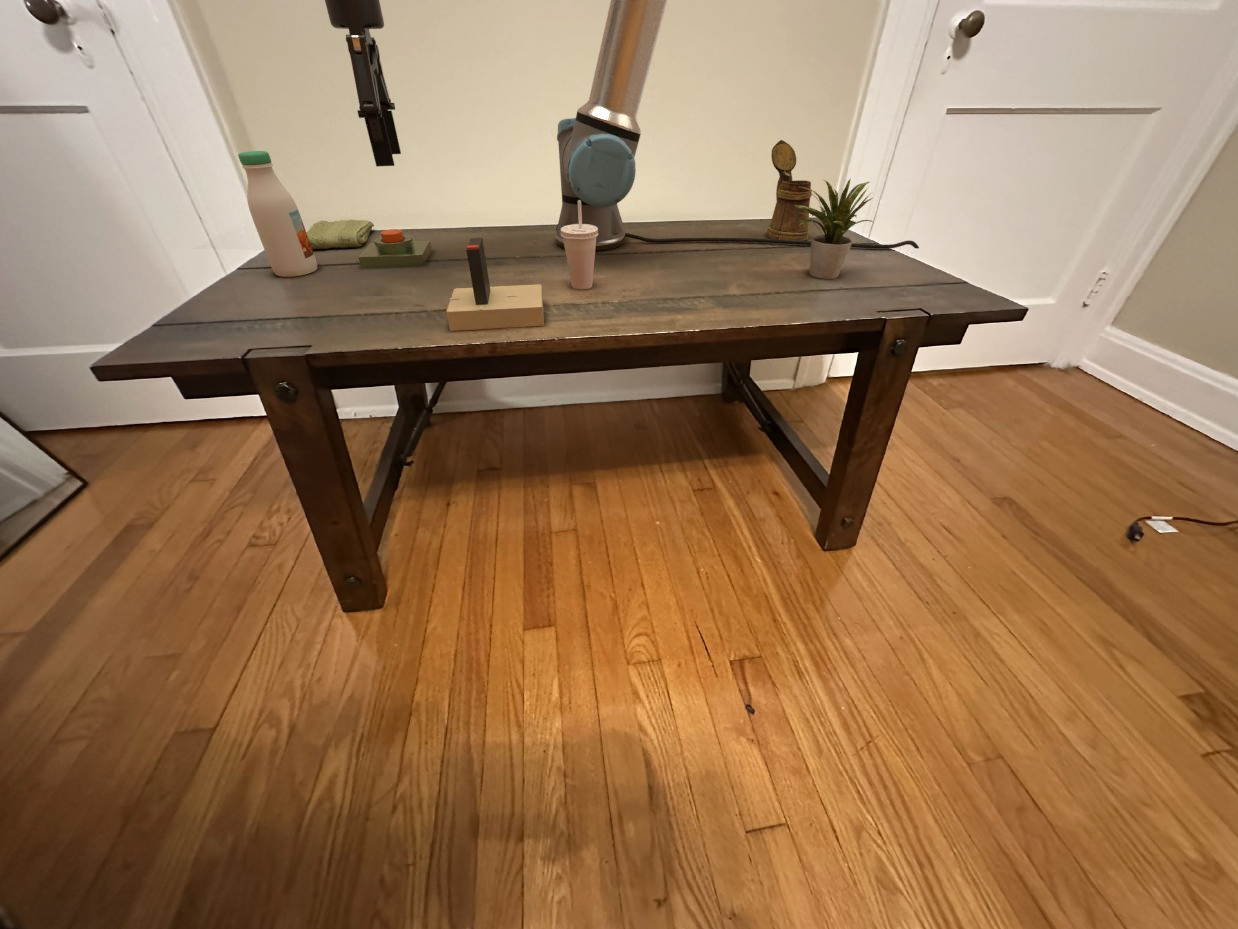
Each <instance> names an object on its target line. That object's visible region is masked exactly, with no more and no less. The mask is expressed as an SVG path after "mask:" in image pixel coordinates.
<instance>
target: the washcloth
mask: <svg viewBox="0 0 1238 929" xmlns="http://www.w3.org/2000/svg"><path fill="white" fill-rule="evenodd" d="M373 227H375V224H374V223H373V222H372V221H370V220H367V219H366V220H365V219H341V220H335V221H328V220H319V221H317V222H314V223H313V224H312V226H310V227H309V229H308V230H306V233H307V236H308V239H309V242H310V244H311V247H312V250H313V251H314V250H320V249H321V250H329V249H331V248H334V249H339V248H340V249H349V248H351V249H352V248H360V247H362V246H363V245H364V244H365V243H366V242H367V241H368V239H369V235H370V233H371V231H372V228H373Z"/></svg>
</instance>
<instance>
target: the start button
mask: <svg viewBox="0 0 1238 929" xmlns="http://www.w3.org/2000/svg"><path fill="white" fill-rule="evenodd" d="M403 235H404V233H403V230H402V229H400V228H399V229H396V228H392V229H385V230H382V231H380V237H382V240H383V242H397V241H402V240H404V237H403Z"/></svg>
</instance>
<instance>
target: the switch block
mask: <svg viewBox="0 0 1238 929" xmlns="http://www.w3.org/2000/svg"><path fill="white" fill-rule="evenodd" d="M403 237H404V240H402V241H397V242H383V240H382V236H380V237H377V238H375V240H374V241H373V242H370V243H369V244H368V245H367V246H366V248H365V249H363V251H362V252H361V253H360V254H359V256H358V262H359V266H360V268H361V269H378V268H379V269H381V268H399V267H400V268H401V267H403V268H404V267H422V266H423V267H425V266H426V264H427V261H428V260H429V258H430V257H431V255H432V252H433V248H432V243H431V240H413V238H412V236H411V235H409V234H403Z"/></svg>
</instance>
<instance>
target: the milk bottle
mask: <svg viewBox="0 0 1238 929" xmlns="http://www.w3.org/2000/svg"><path fill="white" fill-rule="evenodd" d="M237 154H238V156H237V157H238V159H239V162H240V163H241V165H242V168H243V169H244V170H245V174H246V178H247V179H246V180H247V194H246V195H247V196H246V198H247V199H246V200H247V206H248V210H249V213H250V216H251V219H252V221H253V224H254V227H255V230H256V232H257V235H258V236H259V237H258V238H259V239H260V242H261V244H262V247H263V249H264V253H265V255H266V258H267V259H268V262H269V264H270V267H271V270H272V272H273V273H274V274H275V275H276V276H278V277H284V278H285V277H286V278H289V277H291V278H292V277H300V276H304V275H308V274H310V273H313V272H316V271H317V270H318V262H317V259H316V256H315V252H314V249H313V250H312V247H311V244H310V242H309V239H308V236H307V233H306V232H307V230H306V228H305V225H304V224H305V223H304V222H303V219H302V215H301V214H300V211H299V207H298V206H297V204H296V202H295V200H294V198H293V195H291V193H290V191H289V190H288V189H287V188H286V186H284V184H283V183H282V182H281V181H280V179H279V177H278V176H277V174H276V173H275V171H274V169H273V166H274V165H273V162H272V159H271V156H270V153H269V152H268V151H266V150H251V151H250V150H249V151H243V152H238V153H237Z"/></svg>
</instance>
